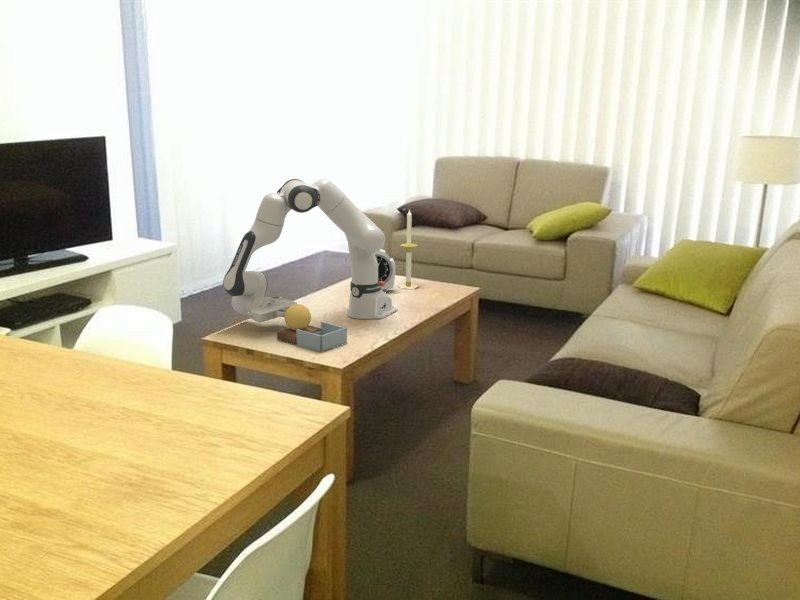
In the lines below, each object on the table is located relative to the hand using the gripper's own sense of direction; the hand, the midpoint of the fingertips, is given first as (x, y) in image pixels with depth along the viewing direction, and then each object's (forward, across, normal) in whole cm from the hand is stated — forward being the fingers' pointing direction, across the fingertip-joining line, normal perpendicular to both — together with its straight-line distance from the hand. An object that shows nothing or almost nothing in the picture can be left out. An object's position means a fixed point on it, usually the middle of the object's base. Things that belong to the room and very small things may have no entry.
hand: (288, 314), depth 307 cm
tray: (+18, 0, +8) cm, 19 cm away
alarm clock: (-18, +73, +8) cm, 76 cm away
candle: (-13, +90, +8) cm, 91 cm away
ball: (+5, 0, 0) cm, 5 cm away
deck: (+6, 0, +8) cm, 10 cm away
